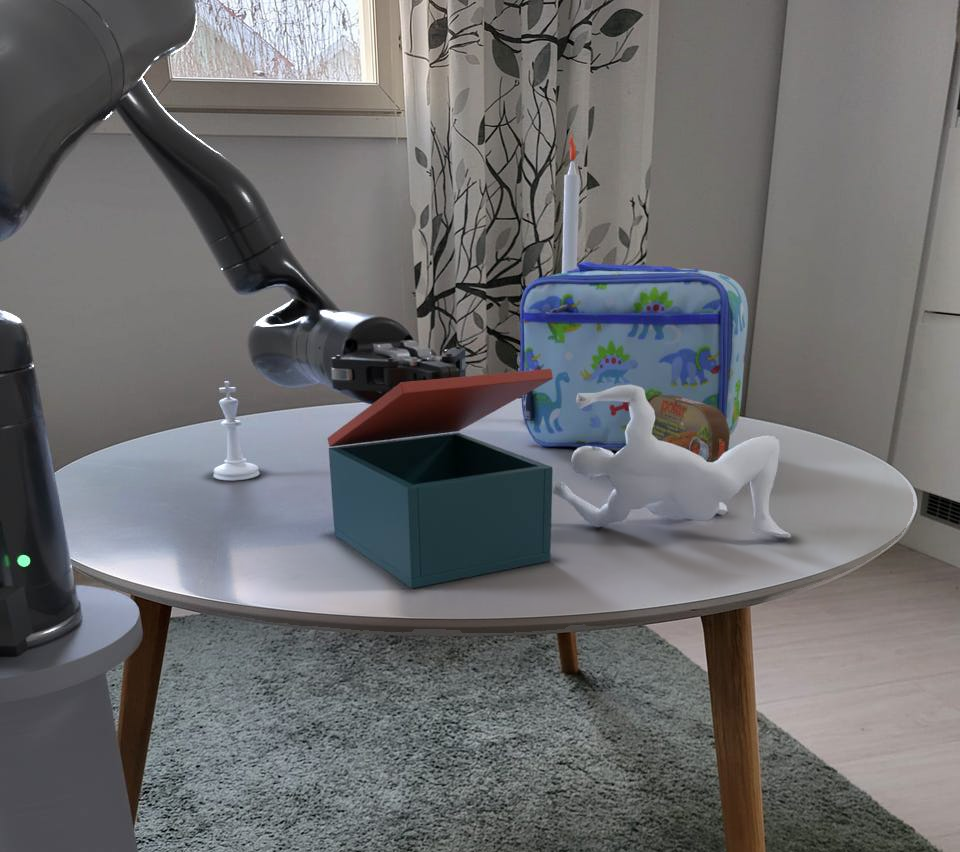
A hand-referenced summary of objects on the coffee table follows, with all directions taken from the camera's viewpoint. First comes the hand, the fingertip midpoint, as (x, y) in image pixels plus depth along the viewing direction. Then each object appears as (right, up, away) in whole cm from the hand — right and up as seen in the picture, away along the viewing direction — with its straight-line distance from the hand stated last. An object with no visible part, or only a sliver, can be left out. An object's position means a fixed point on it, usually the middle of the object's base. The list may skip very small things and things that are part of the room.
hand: (449, 381), depth 74 cm
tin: (+24, -3, +29) cm, 38 cm away
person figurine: (+19, -10, +12) cm, 25 cm away
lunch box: (+20, +3, +43) cm, 48 cm away
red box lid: (-1, -2, +3) cm, 4 cm away
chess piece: (-24, -2, +32) cm, 40 cm away
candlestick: (+14, +10, +57) cm, 60 cm away
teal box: (-1, -12, +8) cm, 14 cm away
